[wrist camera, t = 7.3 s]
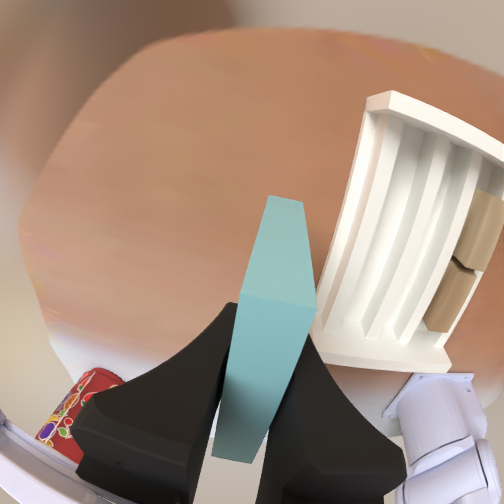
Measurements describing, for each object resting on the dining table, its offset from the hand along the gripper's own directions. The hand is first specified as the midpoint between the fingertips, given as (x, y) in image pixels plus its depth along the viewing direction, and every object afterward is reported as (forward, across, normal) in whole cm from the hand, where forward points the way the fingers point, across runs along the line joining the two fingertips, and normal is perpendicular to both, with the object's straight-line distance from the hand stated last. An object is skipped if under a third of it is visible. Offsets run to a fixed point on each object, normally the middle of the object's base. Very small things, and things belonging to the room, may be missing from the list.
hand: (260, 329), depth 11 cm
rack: (+10, -10, -2) cm, 15 cm away
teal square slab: (+5, 0, 0) cm, 5 cm away
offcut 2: (+10, -14, -5) cm, 17 cm away
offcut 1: (+10, -14, +1) cm, 17 cm away
